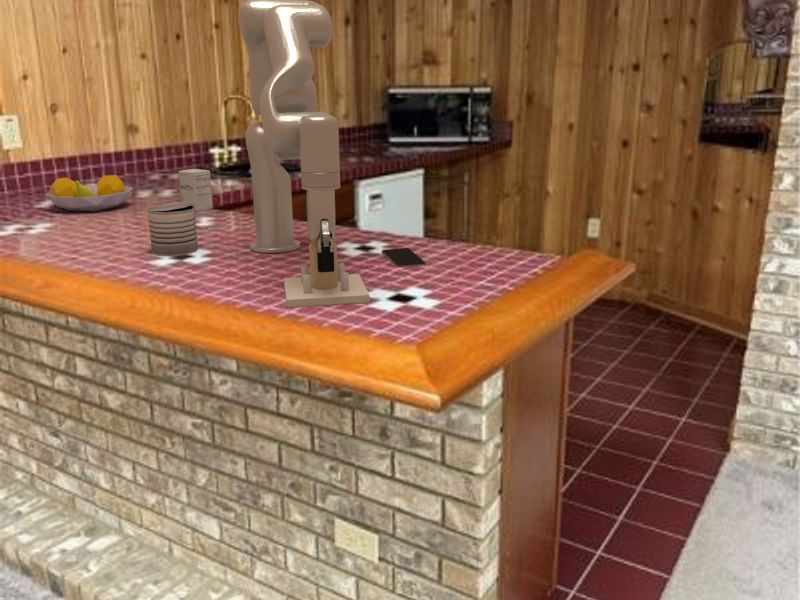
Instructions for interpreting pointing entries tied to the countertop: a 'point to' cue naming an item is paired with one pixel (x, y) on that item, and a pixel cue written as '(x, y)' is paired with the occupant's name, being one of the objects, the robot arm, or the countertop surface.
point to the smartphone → (403, 257)
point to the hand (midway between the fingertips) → (324, 265)
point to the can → (173, 229)
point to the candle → (322, 278)
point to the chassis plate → (325, 290)
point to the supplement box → (196, 188)
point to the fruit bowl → (89, 194)
